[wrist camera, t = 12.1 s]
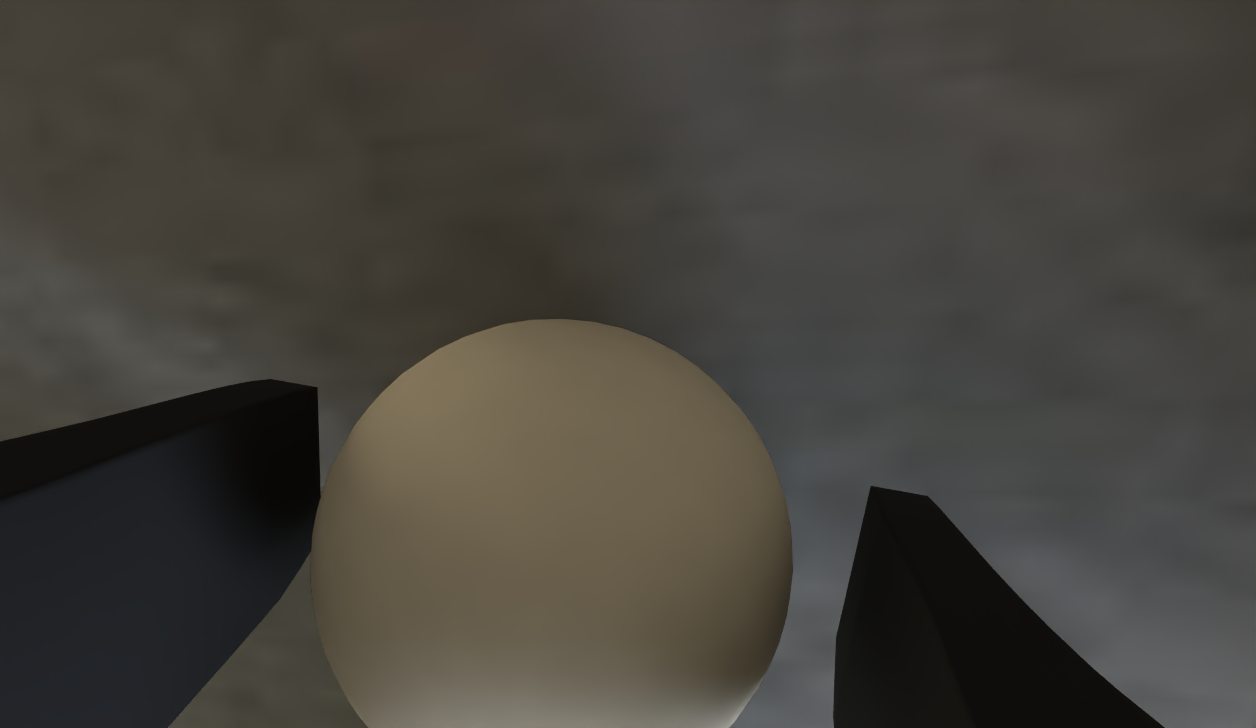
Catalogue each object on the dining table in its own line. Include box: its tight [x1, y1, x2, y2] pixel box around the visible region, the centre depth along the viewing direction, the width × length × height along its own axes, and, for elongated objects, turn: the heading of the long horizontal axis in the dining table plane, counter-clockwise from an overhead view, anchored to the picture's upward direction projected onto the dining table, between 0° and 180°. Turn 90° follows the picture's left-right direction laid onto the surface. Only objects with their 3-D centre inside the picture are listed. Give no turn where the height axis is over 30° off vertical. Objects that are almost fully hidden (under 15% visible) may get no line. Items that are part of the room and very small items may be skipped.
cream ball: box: [310, 319, 793, 728], centre depth 10 cm, size 5×5×5 cm
